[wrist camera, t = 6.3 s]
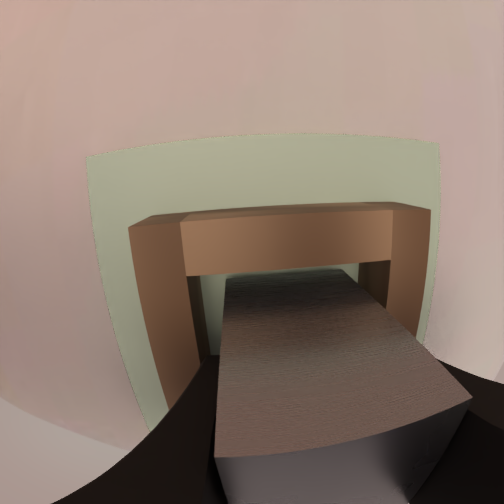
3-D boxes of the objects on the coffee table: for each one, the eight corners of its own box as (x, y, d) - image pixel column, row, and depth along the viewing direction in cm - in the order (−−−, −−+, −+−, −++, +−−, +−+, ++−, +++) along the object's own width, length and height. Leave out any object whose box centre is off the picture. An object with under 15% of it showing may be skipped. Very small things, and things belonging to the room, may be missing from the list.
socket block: (156, 426, 14) (144, 472, 10) (97, 158, 10) (49, 154, 7) (396, 399, 14) (422, 438, 11) (425, 144, 11) (478, 140, 7)
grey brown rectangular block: (236, 374, 11) (241, 540, 4) (225, 278, 10) (214, 457, 3) (335, 362, 11) (406, 505, 4) (341, 268, 10) (472, 397, 3)
